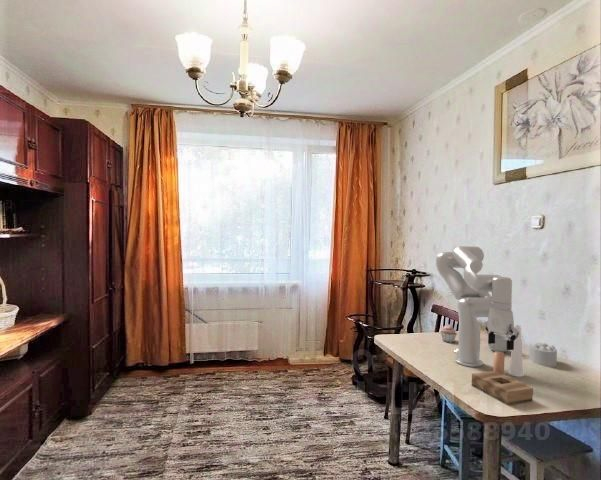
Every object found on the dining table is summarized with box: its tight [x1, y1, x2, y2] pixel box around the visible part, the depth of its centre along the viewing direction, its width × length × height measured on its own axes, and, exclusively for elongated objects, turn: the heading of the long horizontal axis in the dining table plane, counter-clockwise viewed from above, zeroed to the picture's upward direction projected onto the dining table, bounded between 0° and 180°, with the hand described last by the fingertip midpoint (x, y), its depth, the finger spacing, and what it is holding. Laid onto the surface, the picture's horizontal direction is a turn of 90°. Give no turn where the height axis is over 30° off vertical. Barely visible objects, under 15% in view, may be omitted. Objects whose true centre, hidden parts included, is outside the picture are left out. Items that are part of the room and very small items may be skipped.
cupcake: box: [439, 323, 458, 343], centre depth 221 cm, size 9×9×10 cm
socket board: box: [470, 370, 534, 406], centre depth 150 cm, size 18×12×5 cm, turn 18°
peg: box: [492, 351, 506, 375], centre depth 162 cm, size 4×4×12 cm
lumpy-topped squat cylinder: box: [528, 342, 558, 368], centre depth 188 cm, size 10×13×9 cm
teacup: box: [487, 333, 508, 353], centre depth 204 cm, size 14×11×8 cm
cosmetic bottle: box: [508, 324, 525, 378], centre depth 170 cm, size 6×6×22 cm
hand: (500, 346), depth 162 cm, fingers open, 9 cm apart
